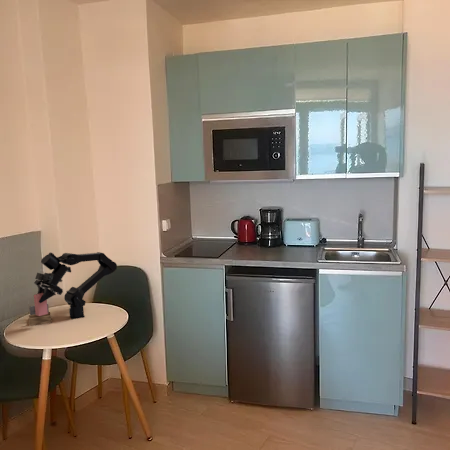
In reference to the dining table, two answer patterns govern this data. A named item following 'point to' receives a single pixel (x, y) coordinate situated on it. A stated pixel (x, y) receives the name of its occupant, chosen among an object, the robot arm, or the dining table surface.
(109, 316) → the dining table surface
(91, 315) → the dining table surface
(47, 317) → the rack
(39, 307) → the red rectangular block
